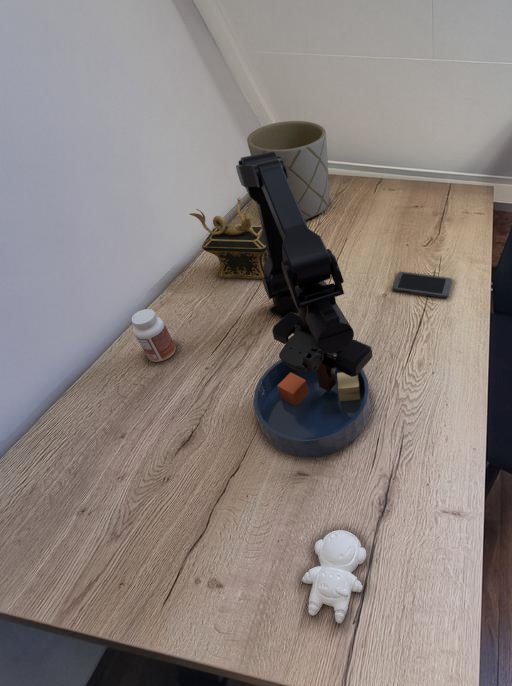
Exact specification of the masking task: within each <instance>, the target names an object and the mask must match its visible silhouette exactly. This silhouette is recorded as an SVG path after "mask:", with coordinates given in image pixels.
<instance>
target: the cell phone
mask: <svg viewBox="0 0 512 686" xmlns="http://www.w3.org/2000/svg"><path fill="white" fill-rule="evenodd" d="M452 283H453V279H452V278H451V277H445V276H437V275H429V274H422V273H414V272H408V271H400V272H398V273H397V275H396V278H395V281H394V284H393V286H392V290H393V291H394V292H400V293H406V294H414V295H415V294H416V295H421V296H427V297H435V298H440V299H441V298H442V299H447V298H449V295H450V290H451V287H452Z"/></svg>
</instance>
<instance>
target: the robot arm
mask: <svg viewBox="0 0 512 686" xmlns="http://www.w3.org/2000/svg"><path fill="white" fill-rule="evenodd" d="M235 169H236V173H237V177H238V180H239V183H240V184H241V186H242V187H244V188H245V190H246V192H247V194H248V196H249V198H251V200H253V201H254V202H255V203H256V207H257V211H258V214H259V220H260V223H261V225H260V226H262V230H263V234H264V239H265V243H266V247H267V253H268V258H267V260H266V262H265V264H264V266H263V267H264V272H265V276H263V279H261V281H262V284H263V288H264V291H265V292H266V295H267V297H268V299H269V300H272V302H273V306H272V307H271V308H270V309H269V311H270V312H271V313H272V314H275V315H276V316H279V317H281V318H280V320H279V321H278V322H276V324H274V325H273V326H272V327H273V328H272V330H271V331H272V336H273V339H274V340H275V341H277V342H279V343H281V344H283V345H284V346H283V347H282V349H281V350H280V351H279V353H278V357H279V360H282V361H283V362H284V363H285V364H286V365H287V366H288V367H290V368H292V369H294V370H296V371H298V372H300V373H302V374H304V373H308V372H309V371H310V370H312V371H314V372H315V371H316V370H317V369H318V367H319V366H320V364H321V363H322V364H324V365H326V368H327V372H328V375H329V377H332V376H333V375H334V373H335V371H336V369H338V370H339V371H341V372H343V373H345V374H347V375H349V376H351V377H354V376H357V375H358V373H359V372H360V371H361V370H362V369H363V370H364V368H365V366H366V365H367V364H368V363H369V362H370V361H371V359H372V358H373V349H372V346H370V345H368V344H366V343H364V342H361V341H359V340H357V339H354V337H355V331H354V330H353V328H352V325H350V323H349V321H348V320H347V318H346V316H345V315H344V313H343V311H342V310H341V308H340V307H339V305H338V303H337V301H336V297H339V296H343V295H345V291H344V288H343V285H342V284H344V282H345V281H344V278H343V275H342V272H341V269H340V265H339V263H338V261H337V258H336V255H335V254H333V251H332V250H331V249H330V248H327V247H326V244H325V242H324V241H323V239H322V237H321V236H320V235H319V234H318V233H316V232H314V231H313V230H312V229H310V228H309V227H308V224H307V223H306V222H307V221H305V220H304V217H303V215H302V213H301V210H300V208H299V206H298V203H297V201H296V199H295V196H294V194H293V192H292V189H291V187H290V185H289V182H288V178H289V177H290V175H289V171H288V167H287V163H286V159H285V156H277V157H276V154H275V152H274V151H270V152H265V153H261V154H256V155H251V154H250V155H247V156H242V157H240V160H238V164H236V165H235ZM331 279H332V281H333V283H329V284H327V282H326V281H328V280H331ZM324 353H327V356H326V357H325V358H324V359H323V356H322V355H323V354H324Z"/></svg>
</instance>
